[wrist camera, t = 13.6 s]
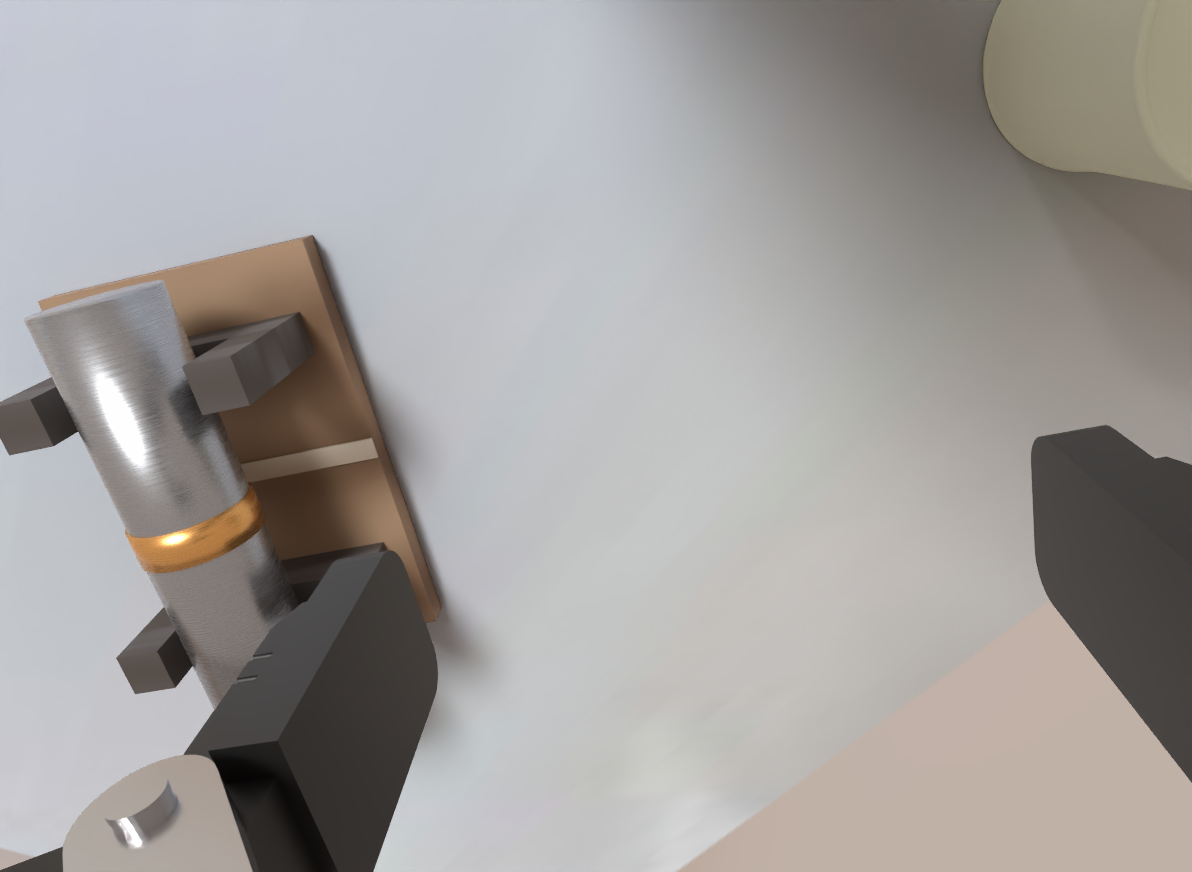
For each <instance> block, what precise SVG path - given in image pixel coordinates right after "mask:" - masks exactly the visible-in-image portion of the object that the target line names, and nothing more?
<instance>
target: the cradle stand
mask: <svg viewBox="0 0 1192 872" xmlns="http://www.w3.org/2000/svg"><path fill="white" fill-rule="evenodd" d="M156 280H164V283H165V285H166V288H167V290H168V292H169V295H170V297H171V300H172V302H173V304H174V307H175V309H176V311H177V314H178V316H179V319H180V321H181V323H182V326H183V328H184V331H185V333H186V335H187V338H188V340H189V342H190V345H191V347H192V350H193V352H194V354H195V357H196V359H194V360H192V361H191V362H189V363H187V364H186V365H184V366H182V368H183V371H184V373H185V375H186V378H187V380H188V382H189V385H190V387H191V390H192V392H193V394H194V397H195V399H196V401H197V404H198V406H199V408H200V411H201V413H202V415H206V414H211V413H216V412H219V414H220V416H221V419H222V421H223V424H224V426H225V428H226V431H227V433H228V436H229V438H230V440H231V443H232V445H233V447H234V450H235V452H236V455H237V457H238V459H239V462H240V464H241V467H242V469H243V471H244V474H245V476H246V478H247V481H249V482H250V483H251V484H252V486H253V489H254V491H255V494H256V496H257V498H258V501H259V503H260V506H261V508H262V510H263V513H264V515H265V524H266V526H267V529H268V531H269V533H270V536H271V538H272V541H273V543H274V545H275V548H276V550H277V552H278V555H279V557H280V560H281V562H282V564H283V567H284V569H285V572H286V574H287V576H288V579H289V581H290V583H291V586H292V588H293V591H294V593H295V595H296V598H297V600H298V603H299V605H300V604H301V603H303V602H307V601H308V599H309V598H310V596H311V595H312V593H313V592H314V590H315V589H316V587H317V586H318V584H319V583H320V581H321V580H322V578H323V577H324V575H325V574H326V572H327V571H328V569H329V568H330V566H331V565H332V564H333V563H334V562H335V561H336V560H338V559H344V558H349V557H355V556H360V555H366V554H372V553H377V552H383V551H389V550H391V551H394V552H396V553H397V554H398V555H399V557H400V558H401V560H402V562H403V563H404V566H405V568H406V571H407V574H408V577H409V579H410V582H411V585H412V588H413V591H414V593H415V596H416V599H417V602H418V604H419V607H420V610H421V613H422V616H423V618H424V621H425V623H427V622H433V621H437V618H438V616H439V613H440V611H441V608H442V607H441V605H440V602H439V599H438V596H437V593H436V590H435V587H434V584H433V582H432V579H431V576H430V573H429V570H428V567H427V564H426V561H425V558H424V556H423V553H422V550H421V547H420V544H419V541H418V538H417V535H416V533H415V530H414V527H413V524H412V521H411V518H410V515H409V512H408V509H407V507H406V504H405V501H404V498H403V495H402V492H401V489H400V486H399V484H398V481H397V478H396V475H395V472H394V469H393V466H392V463H391V460H390V458H389V455H388V452H387V449H386V446H385V443H384V440H383V437H382V435H381V432H380V429H379V426H378V423H377V420H376V417H375V414H374V411H373V409H372V406H371V403H370V400H369V397H368V394H367V391H366V388H365V386H364V383H363V380H362V377H361V374H360V371H359V368H358V365H357V363H356V360H355V357H354V354H353V351H352V348H351V345H350V342H349V339H348V337H347V334H346V331H345V328H344V325H343V322H342V319H341V316H340V314H339V311H338V308H337V305H336V302H335V299H334V296H333V293H332V290H331V288H330V285H329V282H328V279H327V276H326V273H325V270H324V267H323V265H322V262H321V259H320V256H319V253H318V250H317V247H316V244H315V241H314V239H313V236H312V235H311V236H306V237H302V238H298V239H294V240H289V241H285V242H281V243H277V244H272V245H268V246H264V247H260V248H255V249H251V250H247V251H242V252H238V253H234V254H230V255H225V256H221V257H217V258H213V259H208V260H204V261H200V262H196V263H191V264H187V265H183V266H179V267H174V268H170V269H166V270H162V271H157V272H153V273H149V274H145V275H140V276H136V277H132V278H128V279H123V280H119V281H115V282H111V283H106V284H102V285H98V286H94V287H89V288H85V289H81V290H77V291H72V292H68V293H64V294H60V295H55V296H52V297H49V298H47V299H44V300H41V301H38V303H39V305H40V307H41V309H42V311H44V310H47V309H50V308H53V307H56V306H59V305H62V304H66V303H69V302H72V301H76V300H79V299H82V298H86V297H89V296H93V295H96V294H100V293H104V292H107V291H111V290H115V289H119V288H123V287H127V286H131V285H136V284H140V283H145V282H150V281H156ZM76 432H78V430H77V428H76V426H75V424H74V422H73V419H72V417H71V415H70V413H69V411H68V409H67V407H66V405H65V403H64V401H63V399H62V397H61V395H60V393H59V391H58V389H57V387H56V385H55V383H54V381H53V379H52V377H51V378H49V379H47V380H45V381H43V382H41V383H39V384H37V385H35V386H32V387H30V388H28V389H26V390H24V391H22V392H20V393H18V394H16V395H14V396H12V397H10V398H8V399H6V400H4V401H2V402H0V438H1V440H2V442H3V444H4V446H5V448H6V450H7V452H8V454H9V455H13V454H18V453H23V452H28V451H32V450H37V449H42V448H47V447H52V446H55V445H56V444H58V443H60V442H61V441H63V440H65V439H66V438H68V437H70V436H71V435H73V434H75V433H76ZM116 659H117V660H118V662H119V664H120V666H121V668H122V670H123V672H124V674H125V676H126V677H127V679H128V681H129V683H130V685H131V687H132V689H133V691H134V693H135V694H139V693H145V692H151V691H158V690H164V689H170V688H175V687H176V686H177V685H178V684H179V682H180V681H181V680H182V679H183V677H184V676H185V675H186V674H187V672H188V671H189V670H190V668H191V667H192V666H193V665H192V663H191V661H190V659H189V657H188V655H187V653H186V651H185V649H184V647H183V645H182V642H181V640H180V638H179V636H178V634H177V632H176V630H175V628H174V626H173V624H172V622H171V620H170V618H169V616H168V614H167V612H166V610H165V608H163V609H162V610H161V611H160V612H159V613H158V614H157V615H156V616H155V617H154V618H153V619H152V620H151V621H150V623H149V624H148V625H147V626H146V627H145V628H144V629H143V630H142V631H141V632H140V633H139V634H138V635H137V636H136V638H135V639H134V640H133V641H132V642H131V643H130V644H129V645H128V646H127V647H126V648H125V649H124V650H123V651H122V653H121V654H120V655H119V656H118V657H117V658H116Z"/></svg>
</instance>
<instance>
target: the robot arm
mask: <svg viewBox="0 0 1192 872" xmlns="http://www.w3.org/2000/svg"><path fill="white" fill-rule="evenodd" d="M1031 469H1032V493H1033V516H1034V540H1035V556H1036V563H1037V567H1038V571H1039V575H1040V578H1041V581H1042V584H1043V587H1044V589H1045V591H1046V593H1047V596H1048V597H1049V599H1050V601H1051V602H1052V604H1053V605H1054V607H1055V608H1056V609H1057V611H1058V612H1059V613H1060V614H1061V616H1062V617H1063V618H1064V619H1065V620H1066V622H1067V623H1068V624H1069V626H1070V627H1071V628H1072V630H1073V631H1074V632H1075V633H1076V635H1077V636H1078V637H1079V639H1080V640H1081V641H1082V642H1083V644H1084V645H1085V646H1086V648H1087V649H1088V650H1089V651H1090V653H1091V654H1092V655H1093V657H1094V658H1095V659H1096V660H1097V662H1098V663H1099V664H1100V666H1101V667H1102V668H1103V669H1104V671H1105V672H1106V673H1107V675H1108V676H1109V677H1110V678H1111V680H1112V681H1113V682H1114V684H1115V685H1116V686H1117V687H1118V689H1119V690H1120V691H1121V692H1122V694H1123V695H1124V696H1125V698H1126V699H1127V700H1128V701H1129V703H1130V704H1131V705H1132V707H1133V708H1134V709H1135V710H1136V712H1137V713H1138V714H1139V716H1140V717H1141V718H1142V719H1143V721H1144V722H1145V723H1146V724H1147V726H1148V727H1149V728H1150V730H1151V731H1152V732H1153V733H1154V735H1155V736H1156V737H1157V739H1158V740H1159V741H1160V742H1161V744H1162V745H1163V746H1164V748H1165V749H1166V750H1167V751H1168V753H1169V754H1170V755H1171V757H1172V758H1173V759H1174V760H1175V762H1176V763H1177V764H1178V766H1179V767H1180V768H1181V769H1182V771H1183V772H1184V773H1185V774H1186V776H1187V777H1188V778H1189V780H1190V781H1191V782H1192V465H1190V464H1187V463H1184V462H1181V461H1178V460H1175V459H1172V458H1169V457H1162V458H1156V459H1154V458H1153V457H1152V456H1150V455H1149V454H1148V453H1146V452H1145V451H1143V450H1142V449H1141V448H1139V447H1138V446H1137V445H1135V444H1134V443H1133V442H1131V441H1130V440H1128V439H1127V438H1126V437H1124V436H1123V435H1122V434H1120V433H1119V432H1118V431H1116V430H1115V429H1113V428H1112V427H1110V426H1107V425H1104V426H1097V427H1092V428H1086V429H1080V430H1075V431H1069V432H1063V433H1058V434H1052V435H1046V436H1041V437H1038V438H1036V440H1035V441H1034V443H1033V446H1032V452H1031ZM437 681H438V671H437V660H436V654H435V650H434V647H433V644H432V641H431V638H430V635H429V632H428V630H427V627H426V624H425V621H424V618H423V616H422V613H421V610H420V607H419V604H418V602H417V599H416V596H415V593H414V591H413V588H412V585H411V582H410V579H409V577H408V574H407V571H406V568H405V566H404V563H403V562H402V560H401V558H400V557H399V555H398V554H397V553H396V552H394V551H391V550H389V551H383V552H377V553H372V554H366V555H360V556H355V557H349V558H344V559H338V560H336V561H335V562H334V563H333V564H332V565H331V566H330V568H329V569H328V571H327V572H326V574H325V575H324V577H323V578H322V580H321V581H320V583H319V584H318V586H317V587H316V589H315V590H314V592H313V593H312V595H311V596H310V598H309V599H308V601H307V602H303V603H301V604H300V605H299V606H298V607H297V608H295V609H294V610H293V611H292V612H291V613H289V614H288V615H287V616H286V617H285V618H283V619H282V620H281V621H280V622H279V623H277V624H276V625H275V626H274V627H273V628H272V629H271V630H270V631H269V633H268V634H267V636H266V637H265V639H264V640H263V641H262V643H261V644H260V646H259V647H258V649H257V650H256V651H255V653H254V654H253V660H252V661H248V663H247V664H246V666H245V667H244V669H243V670H242V671H241V673H240V674H239V676H238V677H237V684H232V686H231V687H230V689H229V690H228V692H227V693H226V694H225V696H224V697H223V699H222V700H221V702H220V703H219V704H218V706H217V707H216V709H215V710H214V712H213V713H212V714H211V716H210V717H209V719H208V720H207V722H206V723H205V724H204V726H203V727H202V729H201V730H200V732H199V733H198V734H197V736H196V737H195V739H194V740H193V742H192V743H191V744H190V746H189V747H188V749H187V750H186V752H185V753H184V755H181V756H175V757H171V758H167V759H164V760H160V761H158V762H155V763H153V764H150V765H148V766H146V767H143V768H141V769H139V770H137V771H135V772H133V773H132V774H130V775H128V776H127V777H125V778H123V779H122V780H120V781H119V782H117V783H116V784H114V785H113V786H111V787H110V788H109V789H107V790H106V791H105V792H104V793H102V794H101V795H100V796H99V797H98V798H96V799H95V800H94V801H93V802H92V803H91V804H90V805H89V806H88V807H87V808H86V809H85V810H84V811H83V812H82V814H81V815H80V816H79V817H78V818H77V820H76V821H75V823H74V824H73V825H72V827H71V829H70V830H69V832H68V834H67V836H66V839H65V842H64V844H63V847H61V848H58V849H56V850H53V851H50V852H48V853H45V854H42V855H40V856H37V857H34V858H32V859H29V860H26V861H24V862H21V863H18V864H16V865H13V866H11V867H8V868H5V869H3V870H0V872H373V871H374V868H375V865H376V862H377V859H378V856H379V854H380V851H381V848H382V845H383V842H384V839H385V837H386V834H387V831H388V828H389V825H390V822H391V820H392V817H393V814H394V811H395V808H396V805H397V803H398V800H399V797H400V794H401V791H402V788H403V786H404V783H405V780H406V777H407V774H408V771H409V769H410V766H411V763H412V760H413V757H414V754H415V751H416V749H417V746H418V743H419V740H420V737H421V734H422V732H423V729H424V726H425V723H426V720H427V717H428V715H429V712H430V709H431V706H432V703H433V700H434V698H435V694H436V690H437Z"/></svg>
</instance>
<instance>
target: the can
mask: <svg viewBox="0 0 1192 872" xmlns="http://www.w3.org/2000/svg"><path fill="white" fill-rule="evenodd" d="M983 82H984V90H985V96H986V100H987V103H988V107H989V110H990V112H991V115H992V117H993V119H994V121H995V123H996V125H997V126H998V128H999V130H1000V131H1001V133H1002V134H1003V136H1004V137H1005V138H1006V139H1007V140H1008V141H1009V142H1010V144H1011V145H1012V146H1013V147H1014V148H1016V149H1017V150H1018V151H1019V152H1021V153H1022V154H1023V155H1025V156H1026V157H1028V158H1030V159H1031V160H1033V161H1035V162H1037V163H1039V164H1042V165H1044V166H1047V167H1050V168H1053V169H1057V170H1062V171H1069V172H1099V173H1104V174H1110V175H1116V176H1121V177H1126V178H1132V179H1137V180H1142V181H1147V182H1152V183H1157V184H1162V185H1167V186H1172V187H1177V188H1182V189H1186V190H1191V191H1192V0H1001V2H1000V4H999V6H998V8H997V10H996V12H995V15H994V18H993V20H992V23H991V26H990V29H989V32H988V36H987V40H986V45H985V51H984V58H983Z"/></svg>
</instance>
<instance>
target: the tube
mask: <svg viewBox="0 0 1192 872" xmlns="http://www.w3.org/2000/svg"><path fill="white" fill-rule="evenodd" d="M24 321H25V323H26V325H27V327H28V329H29V332H30V334H31V336H32V338H33V340H34V342H35V344H36V346H37V348H38V350H39V352H40V354H41V356H42V358H43V360H44V362H45V364H46V366H47V368H48V370H49V372H50V374H51V377H52V379H53V381H54V383H55V385H56V387H57V389H58V391H59V393H60V395H61V397H62V399H63V401H64V403H65V405H66V407H67V409H68V411H69V413H70V415H71V417H72V419H73V422H74V424H75V426H76V428H77V430H78V432H79V434H80V436H81V438H82V440H83V442H84V444H85V446H86V448H87V450H88V452H89V454H90V456H91V458H92V460H93V462H94V464H95V467H96V469H97V471H98V473H99V475H100V477H101V479H102V481H103V483H104V485H105V487H106V489H107V491H108V493H109V495H110V497H111V499H112V501H113V503H114V505H115V507H116V510H117V512H118V514H119V516H120V518H121V520H122V522H123V524H124V526H125V528H126V530H125V534H126V536H127V538H128V540H129V542H130V544H131V546H132V549H133V551H134V553H135V555H136V557H137V559H138V561H139V563H140V565H141V567H142V568H143V570H145V571H147V573H148V575H149V577H150V579H151V581H152V583H153V585H154V587H155V589H156V591H157V593H158V595H159V597H160V600H161V602H162V604H163V606H164V608H165V610H166V612H167V614H168V616H169V618H170V620H171V622H172V624H173V626H174V628H175V630H176V632H177V634H178V636H179V638H180V640H181V642H182V645H183V647H184V649H185V651H186V653H187V655H188V657H189V659H190V661H191V663H192V665H193V667H194V669H195V671H196V673H197V675H198V677H199V679H200V681H201V683H202V685H203V688H204V690H205V692H206V694H207V696H208V698H209V700H210V702H211V704H212V706H213V708H214V710H215V709H216V707H217V706H218V704H219V703H220V702H221V700H222V699H223V697H224V696H225V694H226V693H227V692H228V690H229V689H230V687H231V686H232V684H237V677H238V676H239V674H240V673H241V671H242V670H243V669H244V667H245V666H246V664H247V663H248V661H252V660H253V654H254V653H255V651H256V650H257V649H258V647H259V646H260V644H261V643H262V641H263V640H264V639H265V637H266V636H267V634H268V633H269V631H270V630H271V629H272V628H273V627H274V626H275V625H276V624H277V623H279V622H280V621H281V620H282V619H283V618H285V617H286V616H287V615H288V614H289V613H291V612H292V611H293V610H294V609H295V608H297V607H298V606H299V603H298V600H297V598H296V595H295V593H294V591H293V588H292V586H291V583H290V581H289V579H288V576H287V574H286V572H285V569H284V567H283V564H282V562H281V560H280V557H279V555H278V552H277V550H276V548H275V545H274V543H273V541H272V538H271V536H270V533H269V531H268V529H267V526H266V524H265V515H264V513H263V510H262V508H261V506H260V503H259V501H258V498H257V496H256V494H255V491H254V489H253V486H252V484H251V483H250V482H249V481H247V478H246V476H245V474H244V471H243V469H242V467H241V464H240V462H239V459H238V457H237V455H236V452H235V450H234V447H233V445H232V443H231V440H230V438H229V436H228V433H227V431H226V428H225V426H224V424H223V421H222V419H221V416H220V414H219V412H216V413H211V414H206V415H202V413H201V411H200V408H199V406H198V404H197V401H196V399H195V397H194V394H193V392H192V390H191V387H190V385H189V382H188V380H187V378H186V375H185V373H184V371H183V368H182V366H184V365H186V364H187V363H189V362H191V361H192V360H194V359H196V357H195V354H194V352H193V350H192V347H191V345H190V342H189V340H188V338H187V335H186V333H185V331H184V328H183V326H182V323H181V321H180V319H179V316H178V314H177V311H176V309H175V307H174V304H173V302H172V300H171V297H170V295H169V292H168V290H167V288H166V285H165V283H164V280H156V281H150V282H145V283H140V284H136V285H131V286H127V287H123V288H119V289H115V290H111V291H107V292H104V293H100V294H96V295H93V296H89V297H86V298H82V299H79V300H76V301H72V302H69V303H66V304H62V305H59V306H56V307H53V308H50V309H47V310H44V311H41V312H39V313H36V314H33V315H31V316H29V317H27V318H25V319H24Z"/></svg>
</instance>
